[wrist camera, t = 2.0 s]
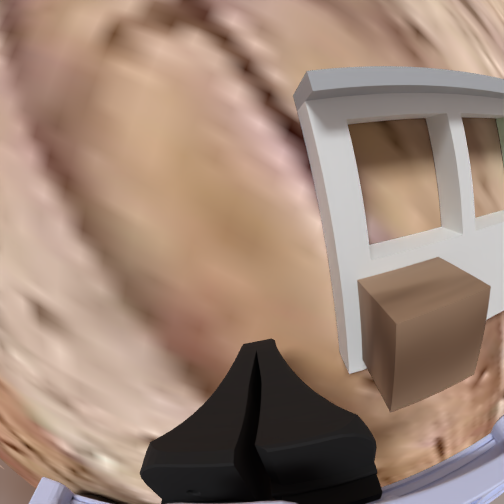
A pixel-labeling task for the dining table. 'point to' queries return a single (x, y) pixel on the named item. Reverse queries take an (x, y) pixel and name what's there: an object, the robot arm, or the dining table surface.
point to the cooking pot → (98, 498)
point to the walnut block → (421, 329)
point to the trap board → (447, 171)
